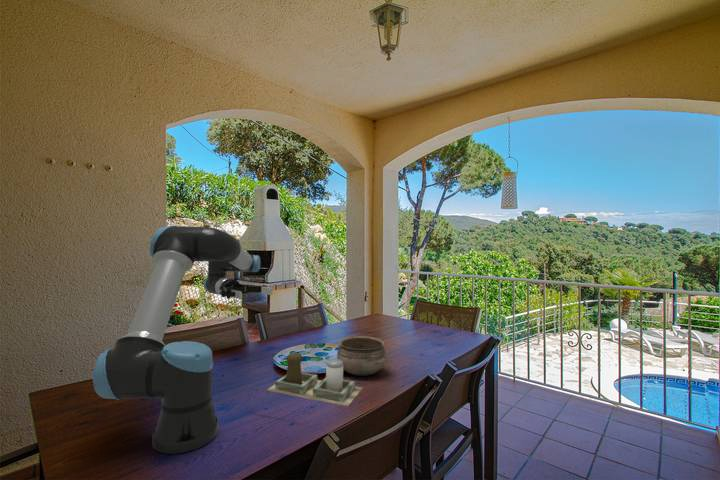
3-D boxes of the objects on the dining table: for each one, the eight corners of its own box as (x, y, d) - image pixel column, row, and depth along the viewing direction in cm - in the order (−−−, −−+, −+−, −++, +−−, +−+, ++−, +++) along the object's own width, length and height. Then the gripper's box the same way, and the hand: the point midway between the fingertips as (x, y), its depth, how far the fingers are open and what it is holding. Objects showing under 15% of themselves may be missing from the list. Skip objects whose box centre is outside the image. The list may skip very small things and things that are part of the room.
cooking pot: (402, 377, 129) (402, 344, 129) (367, 392, 115) (368, 356, 115) (356, 359, 147) (357, 331, 147) (321, 370, 133) (322, 339, 133)
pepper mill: (304, 388, 114) (305, 355, 115) (286, 390, 112) (287, 357, 112) (300, 381, 120) (301, 350, 120) (282, 383, 118) (284, 351, 118)
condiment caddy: (347, 410, 103) (347, 398, 103) (266, 393, 113) (266, 382, 113) (362, 391, 116) (362, 380, 116) (288, 377, 126) (288, 367, 126)
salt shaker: (338, 397, 108) (339, 365, 108) (322, 394, 110) (323, 363, 110) (345, 390, 114) (345, 359, 114) (330, 387, 115) (330, 357, 115)
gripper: (253, 293, 155) (282, 299, 141) (198, 300, 136) (226, 307, 122) (254, 276, 155) (283, 281, 141) (199, 281, 136) (226, 286, 122)
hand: (256, 293), depth 132 cm, fingers open, 13 cm apart
